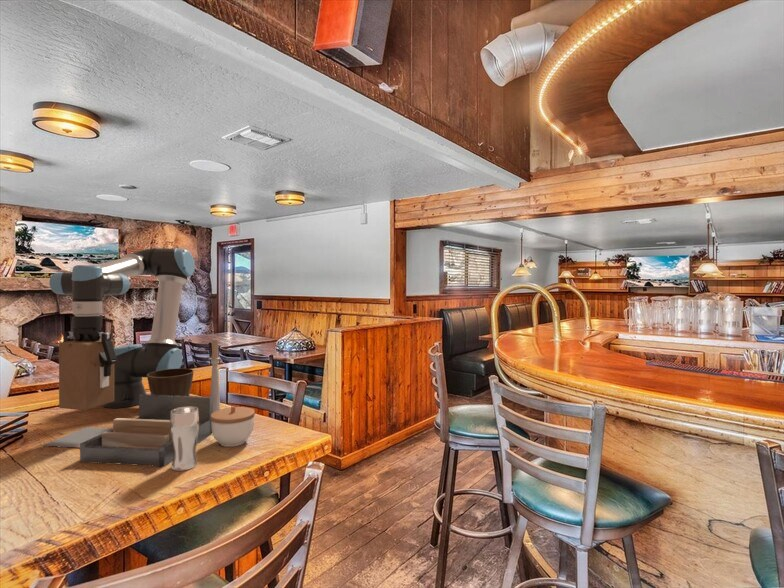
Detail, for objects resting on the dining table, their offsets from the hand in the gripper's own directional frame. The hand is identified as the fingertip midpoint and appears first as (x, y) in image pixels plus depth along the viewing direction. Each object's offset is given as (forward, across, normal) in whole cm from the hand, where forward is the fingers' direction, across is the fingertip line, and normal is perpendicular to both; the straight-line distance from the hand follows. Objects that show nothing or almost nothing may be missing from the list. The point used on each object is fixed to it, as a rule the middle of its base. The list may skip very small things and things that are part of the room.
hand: (87, 386), depth 126 cm
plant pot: (+16, +12, +23) cm, 31 cm away
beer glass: (+17, +41, -15) cm, 47 cm away
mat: (+16, 0, 0) cm, 16 cm away
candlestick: (+16, +32, +17) cm, 40 cm away
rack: (+16, +24, -4) cm, 29 cm away
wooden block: (+6, 0, 0) cm, 6 cm away
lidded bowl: (+16, +46, +2) cm, 49 cm away
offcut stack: (+16, +24, -10) cm, 30 cm away
